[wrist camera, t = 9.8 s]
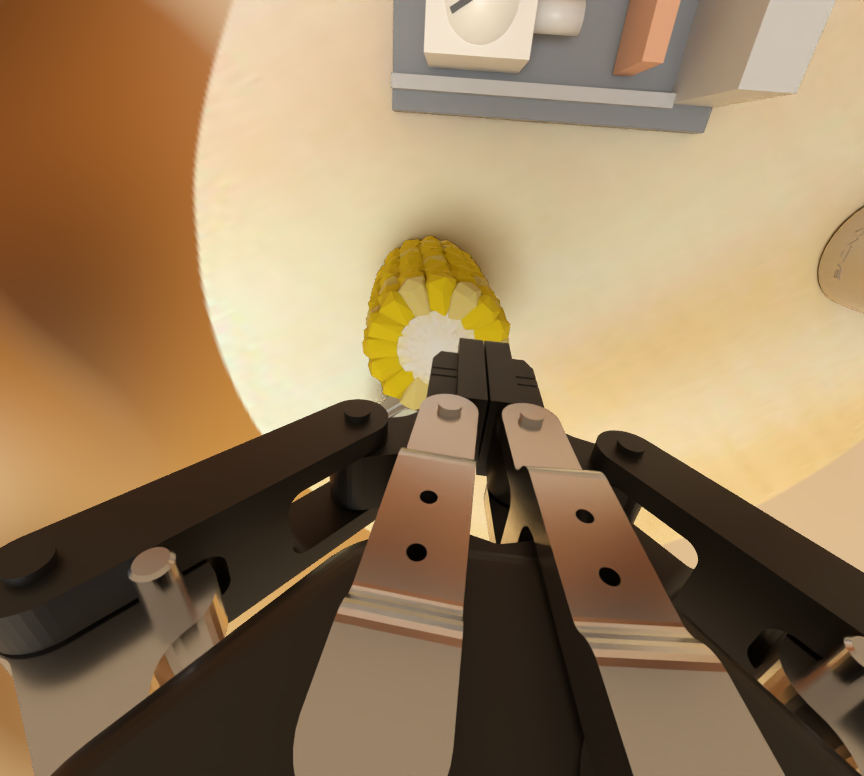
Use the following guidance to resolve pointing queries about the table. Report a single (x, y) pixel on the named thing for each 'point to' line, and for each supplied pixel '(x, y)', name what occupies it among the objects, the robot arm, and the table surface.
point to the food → (426, 314)
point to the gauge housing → (494, 31)
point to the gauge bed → (595, 59)
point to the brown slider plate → (645, 35)
